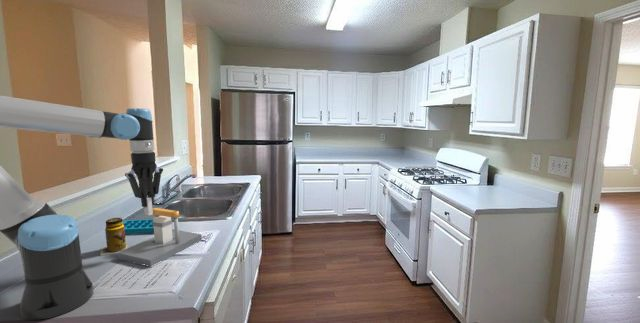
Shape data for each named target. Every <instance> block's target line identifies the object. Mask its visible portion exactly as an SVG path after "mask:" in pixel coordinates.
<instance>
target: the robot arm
mask: <svg viewBox="0 0 640 323" xmlns="http://www.w3.org/2000/svg"><path fill="white" fill-rule="evenodd" d="M153 125H154V124H153V117H152V111H151V110H150V108H140V107H139V108H137V107H136V108H135V107H134V108H133V107H131V108H127V109H126V112H125V113H118V112H117V113H115V112H111V111H103V110H97V109H92V108H84V107H79V106H72V105H66V104H65V105H64V104H58V103H52V102H51V103H50V102H47V101H46V102H45V101H39V100H32V99H26V98H20V97H19V98H18V97H13V96H6V95H0V128H2V129H13V130H22V131H23V130H25V131H34V132H43V133H44V132H45V133H46V132H47V133H57V134H65V135H67V134H68V135H78V136H87V137H88V138H98V139H100V138H109V139H118V140H125V141H127V140H129V149H130V150H129V151H130V152H131V153H130V158H131V159H130V160H131V170H130V171H129V172H125V174H124V176H125V177H126V178H127V180H128V182H129V184H130V187H131V189H132V190H131V191H132V192H133V195H134V197H135V198H138V199H140V203H141V207H142V208H143V209H144V210H143V211H144V215H147V216H152V215H154V214H153V209H154V208H153V206H154V204H155V199H154V198H155V197H156V195H159V191H160V190H159V189H160V184H161V183H160V182H161V176H162V173H163V171H164V169H163V167H162V168H161V167H158V164H156V152H155V151H154V150H155V141H154V140H155V139H154V129H153V128H154V126H153ZM136 177H137V179H136ZM137 180H138V181H137ZM79 230H80V228H79V225H78V222H77V219H75V218H74V217H73V216H70V215H67V214H63V215H62V214H59V213H57V212H56V211H55V210H54V209H53V208H52V207H51V206H50V205H49V204H48V203H47V202H46V201H44V200H41V199H39V200H38V199H35V198H33V196H31V195H30V194H29V193H28V192H27V191H26V190H25V188H23V187H22V186H21V185H20V183H19V182H17V180H15V179H14V178H13V176H11V175H10V174H9V172H8V171H6V170H5V168H4V167H3V166H2V165H0V233H1V234H2V235H4V236H5V238H7V239H8V240H9V241H10V242H12V244H14V245H15V246H16V248H17V249H18V252H19V254H20V256H21V260H22V261H21V262H22V268H23V274H24V279H25V280H24V281H25V286H24V291H23V293H22V296H21V300H20V303H19V311H20V316H21V318H23V319H25V320H28V321H29V320H30V321H34V320H35V321H36V320H37V321H39V320H46V319H50V318H54V317H57V316H60V315H63V314H66V313H68V312H71V311H74V310H75V309H77V308H79V307H81V306H82V305H84V304H86V303H87V302H88V301H89V300H90V299H91V298H92V297H93V295H94V286H93V283H92V281H91V279H90V278H89V276H88V274H87V273H86V271H85V270H84V268H83V259H82V258H83V257H82V250H81V243H80V234H79V233H80V231H79Z"/></svg>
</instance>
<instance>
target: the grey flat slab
mask: <svg viewBox="0 0 640 323" xmlns="http://www.w3.org/2000/svg"><path fill="white" fill-rule="evenodd" d="M172 237H173V240H172V241H169V242H167V243H165V244H158V243H155V238H154V236H152V237H150V238H148V239H145V240H142V241H141V242H138V243H136V244H134V245H132V246H130V247H127V249H125V250H122V251H120V252H117V260H118V261H123V260H124V261H123V262H127V261H129V262H128V263H131V262H135V263H134V264H136V263H140V264H145V265H148V266H152V265H154V264H156V263H158V262H160V261H162V262H164V261H165V259H166V260H168V259H170V258H171V257H173V256H174V255H176V253H177V254H178V252H179V253H180V252H182V251H184V250H186V249H187V248H189V247H192V246H193V245H195V244H197V243H200V242H201V241H202V240H203V238H202V233H201V234H200V233H195V232H190V231H186V230H180V229H179V243H175V229H173V228H172ZM163 260H164V261H163ZM160 263H161V262H160ZM140 264H139V265H140ZM158 264H159V263H158ZM156 265H157V264H156ZM148 266H147V267H148ZM154 266H155V265H154Z"/></svg>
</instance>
